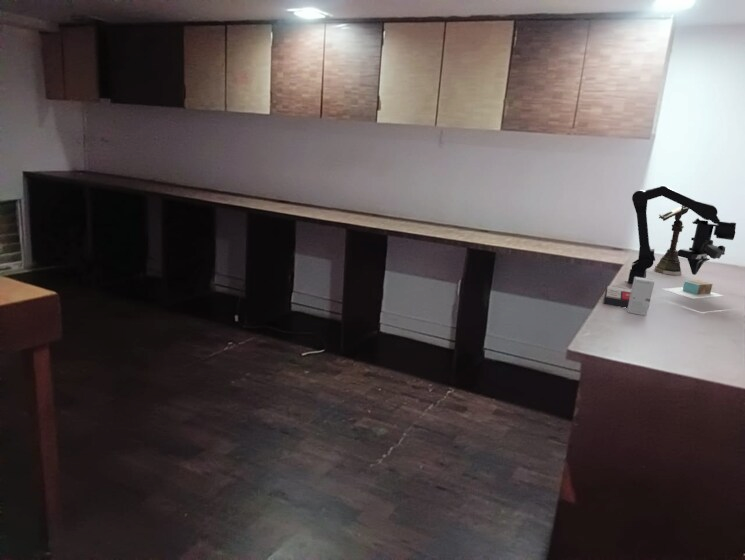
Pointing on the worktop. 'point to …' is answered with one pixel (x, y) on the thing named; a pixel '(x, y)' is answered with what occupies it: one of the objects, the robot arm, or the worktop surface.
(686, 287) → the wooden block
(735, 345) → the worktop surface
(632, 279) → the robot arm
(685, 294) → the white mat
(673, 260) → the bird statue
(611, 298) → the white black red box
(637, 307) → the skincare box
